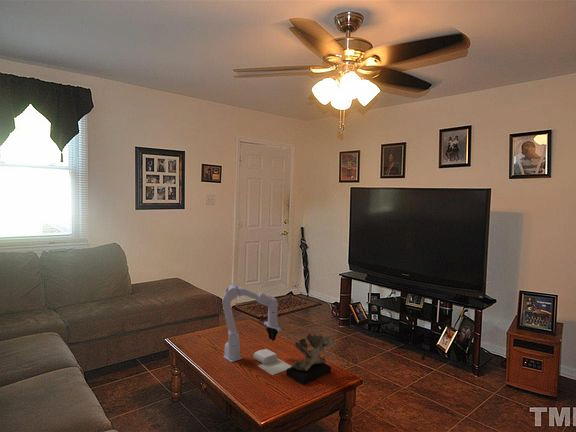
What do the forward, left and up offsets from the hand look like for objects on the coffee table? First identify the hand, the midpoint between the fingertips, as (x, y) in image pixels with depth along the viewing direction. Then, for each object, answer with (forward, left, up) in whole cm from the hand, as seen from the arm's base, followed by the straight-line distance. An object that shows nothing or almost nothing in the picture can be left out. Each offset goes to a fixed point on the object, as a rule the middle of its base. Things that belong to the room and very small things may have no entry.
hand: (272, 339), depth 229 cm
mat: (+12, -7, -11) cm, 17 cm away
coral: (+33, +4, -11) cm, 35 cm away
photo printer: (+7, -6, -8) cm, 13 cm away
